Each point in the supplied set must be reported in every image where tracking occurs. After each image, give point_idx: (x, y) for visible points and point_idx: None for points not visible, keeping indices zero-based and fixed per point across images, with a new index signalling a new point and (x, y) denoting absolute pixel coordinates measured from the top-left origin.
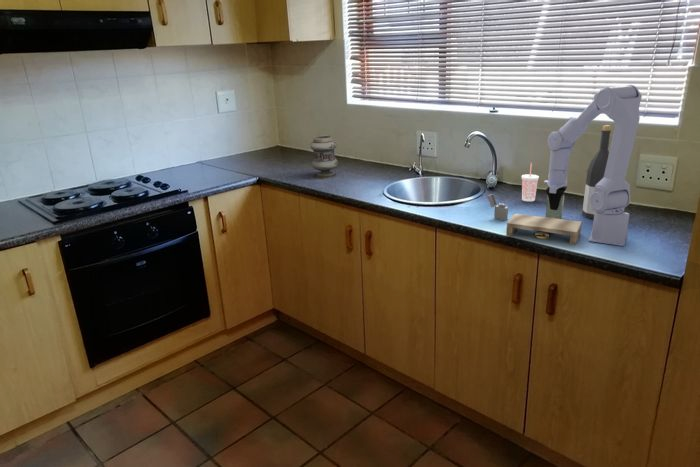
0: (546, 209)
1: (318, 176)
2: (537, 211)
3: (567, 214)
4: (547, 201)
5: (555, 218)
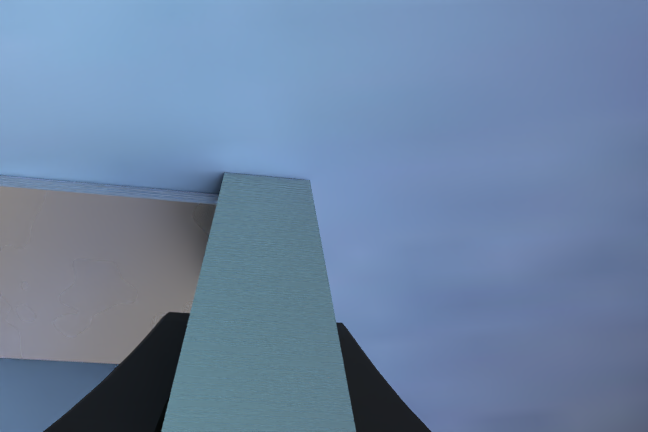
0: (213, 231)
1: None
2: (522, 21)
3: (451, 416)
4: (193, 326)
5: None
